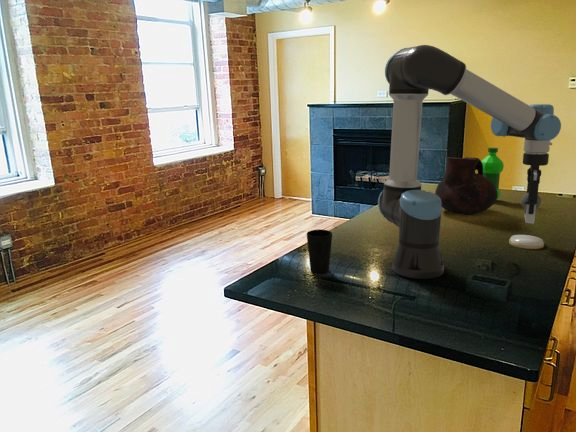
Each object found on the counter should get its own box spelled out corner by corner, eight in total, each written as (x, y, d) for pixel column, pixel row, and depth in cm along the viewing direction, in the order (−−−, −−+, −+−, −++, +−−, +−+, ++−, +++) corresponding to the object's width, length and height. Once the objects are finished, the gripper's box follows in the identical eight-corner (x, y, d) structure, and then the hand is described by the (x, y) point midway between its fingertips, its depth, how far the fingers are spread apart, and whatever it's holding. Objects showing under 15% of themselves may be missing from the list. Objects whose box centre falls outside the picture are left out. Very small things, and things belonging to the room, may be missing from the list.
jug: (507, 213, 203) (513, 155, 197) (471, 223, 190) (476, 161, 183) (458, 202, 223) (461, 149, 217) (422, 211, 210) (424, 155, 203)
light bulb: (532, 224, 158) (535, 195, 155) (515, 220, 163) (518, 192, 160) (542, 221, 161) (545, 192, 158) (525, 217, 166) (528, 189, 163)
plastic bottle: (504, 202, 221) (509, 149, 215) (481, 203, 221) (485, 149, 215) (495, 198, 231) (500, 146, 224) (473, 198, 231) (477, 147, 225)
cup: (324, 277, 140) (324, 238, 137) (302, 272, 144) (301, 234, 141) (336, 268, 146) (336, 231, 143) (314, 264, 150) (314, 228, 147)
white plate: (527, 250, 157) (527, 245, 157) (502, 241, 167) (502, 236, 167) (551, 246, 161) (551, 241, 161) (525, 237, 171) (525, 232, 170)
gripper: (551, 156, 146) (543, 228, 152) (546, 149, 163) (539, 214, 169) (524, 156, 149) (517, 226, 155) (522, 148, 166) (516, 212, 172)
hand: (529, 220), depth 162 cm, fingers closed on light bulb, 6 cm apart
